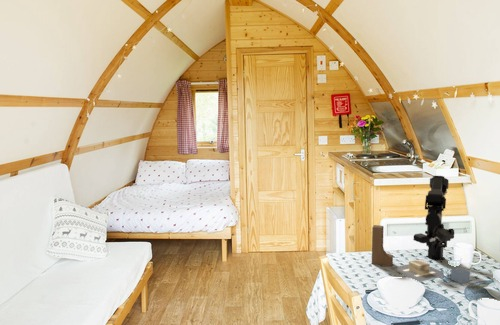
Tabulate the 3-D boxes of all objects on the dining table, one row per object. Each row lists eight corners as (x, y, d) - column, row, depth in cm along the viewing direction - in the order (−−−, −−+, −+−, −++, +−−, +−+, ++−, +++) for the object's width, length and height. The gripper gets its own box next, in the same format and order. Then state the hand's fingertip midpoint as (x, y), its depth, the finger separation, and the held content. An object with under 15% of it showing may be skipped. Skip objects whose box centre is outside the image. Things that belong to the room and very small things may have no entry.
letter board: (419, 262, 206) (419, 262, 206) (450, 275, 190) (450, 275, 190) (389, 268, 200) (389, 267, 199) (418, 282, 183) (418, 281, 183)
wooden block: (392, 264, 206) (393, 226, 204) (391, 267, 201) (392, 229, 199) (373, 261, 209) (373, 224, 207) (371, 264, 205) (372, 227, 203)
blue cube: (459, 278, 187) (460, 267, 187) (469, 282, 183) (470, 270, 182) (450, 280, 185) (451, 268, 185) (460, 284, 181) (461, 272, 180)
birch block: (419, 268, 199) (419, 259, 198) (429, 272, 193) (429, 263, 193) (408, 270, 196) (409, 261, 196) (418, 274, 191) (419, 265, 190)
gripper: (432, 227, 184) (431, 263, 186) (464, 222, 192) (463, 257, 193) (413, 221, 195) (412, 255, 196) (444, 217, 202) (443, 250, 204)
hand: (433, 254), depth 197 cm, fingers closed
